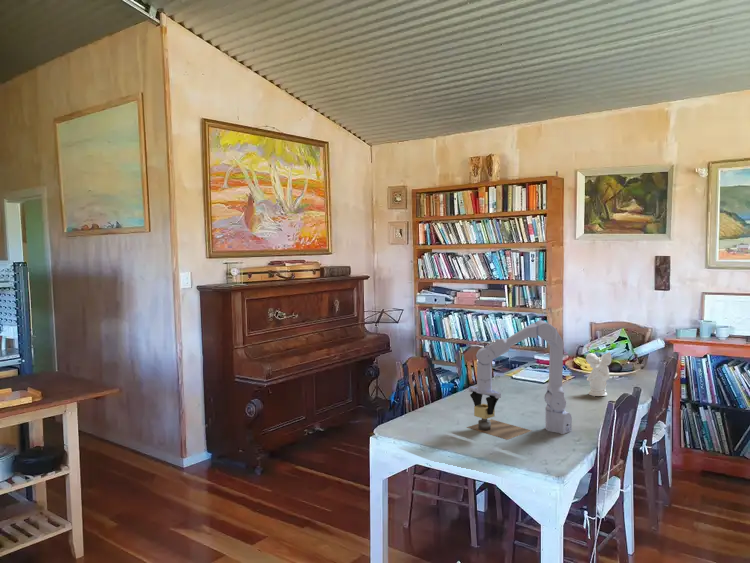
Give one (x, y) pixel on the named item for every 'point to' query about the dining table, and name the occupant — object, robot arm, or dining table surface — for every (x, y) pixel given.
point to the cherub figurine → (598, 373)
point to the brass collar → (482, 411)
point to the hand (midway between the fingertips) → (484, 412)
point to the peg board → (498, 429)
